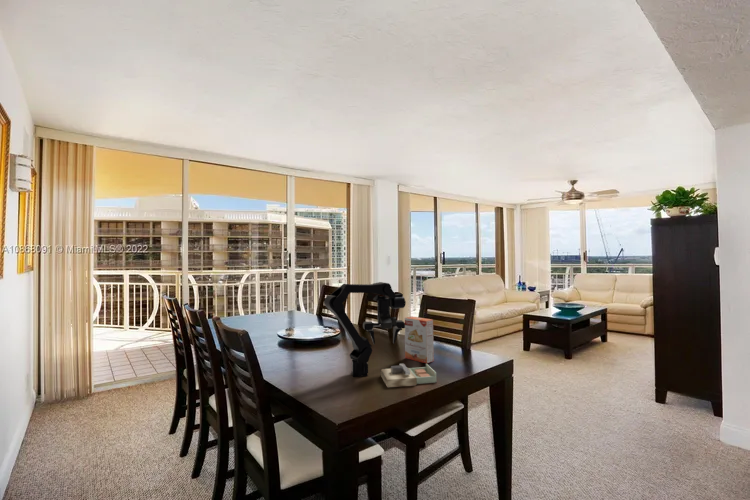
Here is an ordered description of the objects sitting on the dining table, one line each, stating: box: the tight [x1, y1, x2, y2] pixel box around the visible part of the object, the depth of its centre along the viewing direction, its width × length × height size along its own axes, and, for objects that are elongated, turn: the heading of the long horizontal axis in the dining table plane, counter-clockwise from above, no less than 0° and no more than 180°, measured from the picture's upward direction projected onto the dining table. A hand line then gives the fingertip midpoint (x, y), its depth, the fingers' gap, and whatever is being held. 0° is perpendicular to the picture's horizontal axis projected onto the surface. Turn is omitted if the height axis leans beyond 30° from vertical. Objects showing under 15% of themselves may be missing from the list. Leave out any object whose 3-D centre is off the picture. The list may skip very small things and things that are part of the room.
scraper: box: [390, 363, 410, 375], centre depth 159 cm, size 2×11×6 cm
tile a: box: [419, 374, 430, 377], centre depth 157 cm, size 4×4×2 cm
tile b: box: [415, 369, 426, 376], centre depth 164 cm, size 4×4×2 cm
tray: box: [408, 363, 438, 385], centre depth 161 cm, size 8×13×4 cm, turn 10°
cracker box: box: [404, 316, 435, 365], centre depth 187 cm, size 14×6×21 cm, turn 45°
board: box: [380, 366, 417, 388], centre depth 158 cm, size 12×14×3 cm
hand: (384, 343), depth 172 cm, fingers open, 9 cm apart
